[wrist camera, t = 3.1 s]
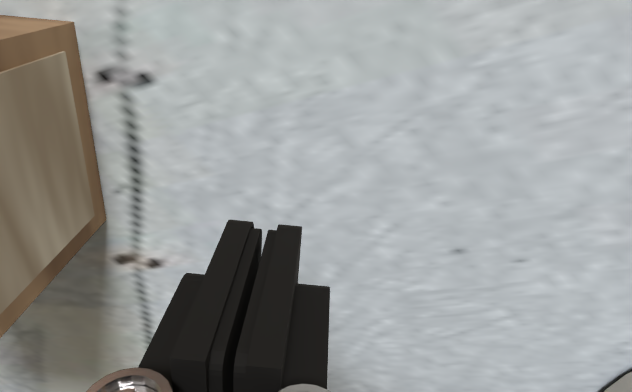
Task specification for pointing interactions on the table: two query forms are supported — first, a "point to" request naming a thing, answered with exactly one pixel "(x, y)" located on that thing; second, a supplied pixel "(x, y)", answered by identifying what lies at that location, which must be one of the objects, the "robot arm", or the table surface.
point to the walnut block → (42, 159)
